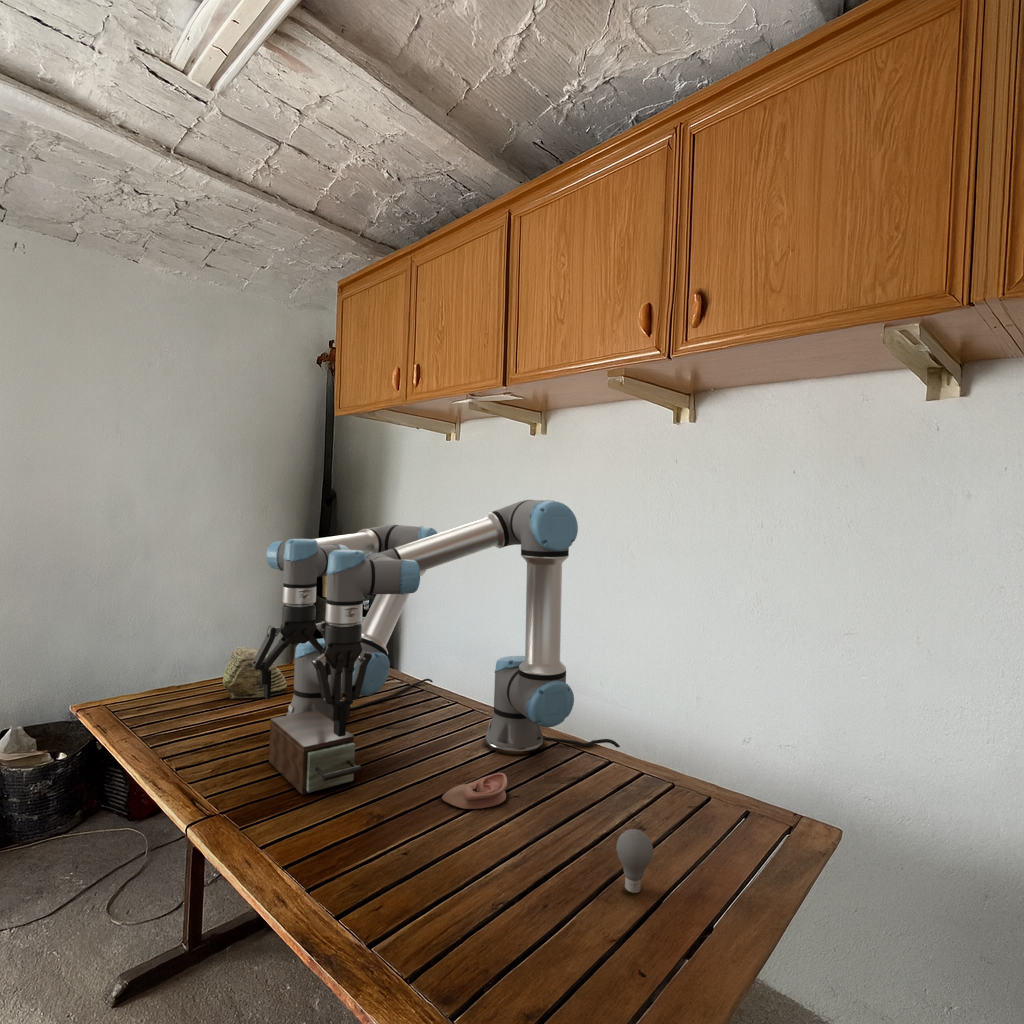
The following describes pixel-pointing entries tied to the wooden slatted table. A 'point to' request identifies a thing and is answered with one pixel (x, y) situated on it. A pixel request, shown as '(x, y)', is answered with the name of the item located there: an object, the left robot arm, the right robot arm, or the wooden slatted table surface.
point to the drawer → (331, 766)
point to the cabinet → (300, 743)
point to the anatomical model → (478, 792)
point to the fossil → (249, 676)
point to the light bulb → (634, 857)
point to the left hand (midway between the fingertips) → (296, 693)
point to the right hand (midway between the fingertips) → (339, 733)
